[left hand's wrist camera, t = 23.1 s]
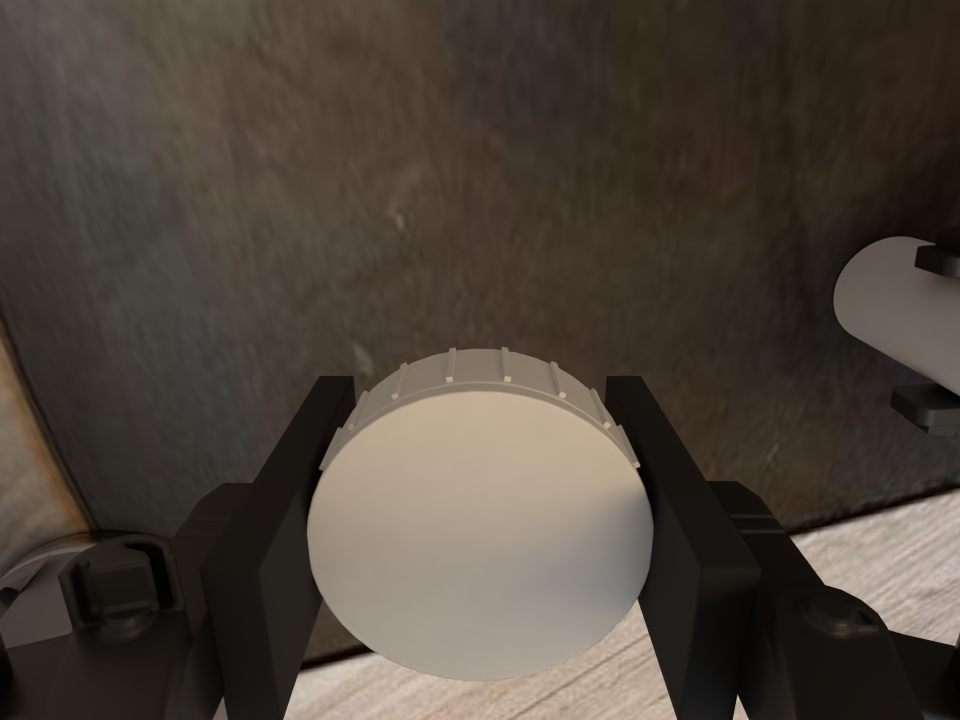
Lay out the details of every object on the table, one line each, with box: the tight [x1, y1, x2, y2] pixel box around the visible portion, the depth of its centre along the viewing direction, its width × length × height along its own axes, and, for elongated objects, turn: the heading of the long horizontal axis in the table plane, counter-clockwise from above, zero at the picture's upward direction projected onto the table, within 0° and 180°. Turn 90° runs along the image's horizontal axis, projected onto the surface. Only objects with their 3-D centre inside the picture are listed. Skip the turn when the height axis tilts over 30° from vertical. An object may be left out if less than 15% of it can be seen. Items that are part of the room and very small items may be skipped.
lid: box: [307, 347, 654, 681], centre depth 11 cm, size 6×6×2 cm
